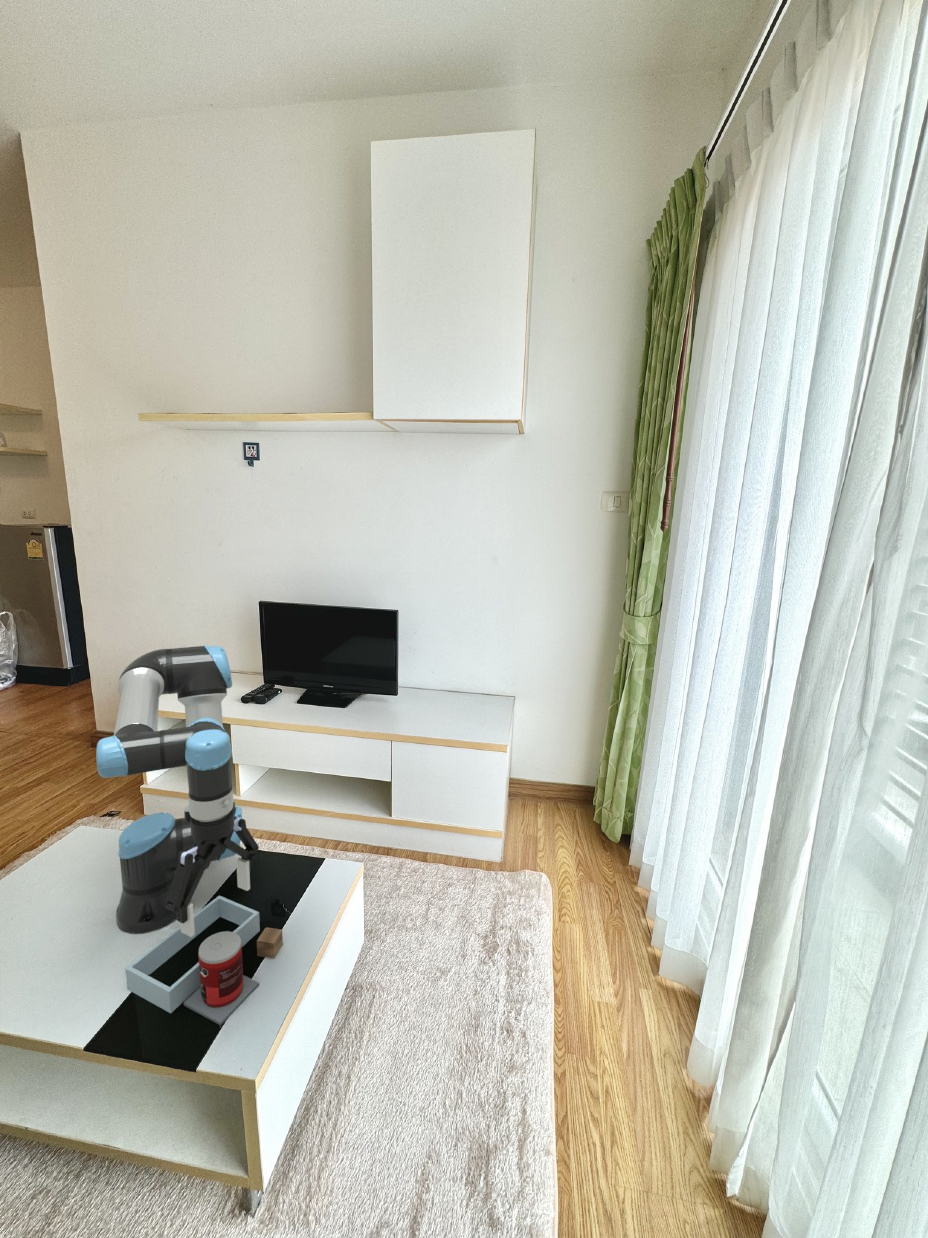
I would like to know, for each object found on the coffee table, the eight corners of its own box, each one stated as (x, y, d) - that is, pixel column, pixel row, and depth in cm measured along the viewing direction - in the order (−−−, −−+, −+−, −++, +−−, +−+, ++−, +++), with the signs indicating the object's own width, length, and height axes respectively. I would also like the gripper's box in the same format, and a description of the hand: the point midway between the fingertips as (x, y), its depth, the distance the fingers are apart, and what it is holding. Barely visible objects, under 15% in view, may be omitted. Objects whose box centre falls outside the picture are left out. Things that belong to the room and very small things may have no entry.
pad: (183, 1005, 107) (183, 1003, 107) (223, 967, 116) (223, 965, 116) (220, 1025, 103) (220, 1023, 103) (259, 985, 112) (259, 982, 112)
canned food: (209, 976, 113) (206, 931, 111) (248, 975, 114) (246, 930, 112) (194, 1009, 106) (191, 961, 103) (236, 1008, 106) (234, 960, 104)
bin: (127, 989, 110) (125, 968, 109) (220, 913, 131) (219, 895, 130) (170, 1013, 105) (169, 992, 104) (259, 930, 127) (259, 912, 126)
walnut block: (257, 956, 120) (256, 940, 119) (266, 942, 123) (265, 927, 123) (274, 959, 119) (273, 943, 118) (282, 945, 123) (282, 930, 122)
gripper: (167, 855, 89) (175, 963, 93) (274, 787, 111) (277, 877, 116) (136, 842, 92) (145, 948, 96) (247, 778, 114) (250, 866, 119)
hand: (217, 909), depth 106 cm, fingers open, 13 cm apart
